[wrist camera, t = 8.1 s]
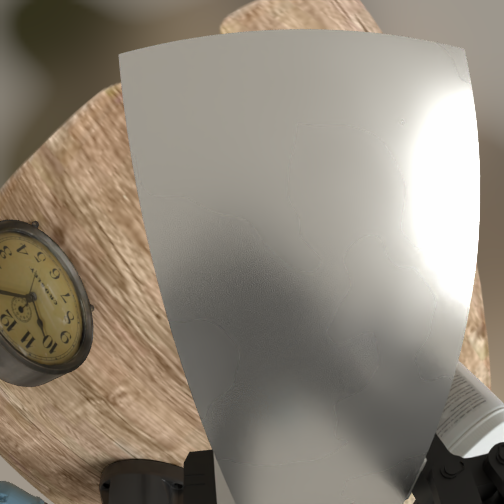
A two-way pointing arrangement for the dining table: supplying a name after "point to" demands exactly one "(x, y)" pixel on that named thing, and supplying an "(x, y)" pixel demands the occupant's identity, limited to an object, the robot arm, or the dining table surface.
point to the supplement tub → (470, 416)
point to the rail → (310, 247)
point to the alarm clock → (39, 308)
